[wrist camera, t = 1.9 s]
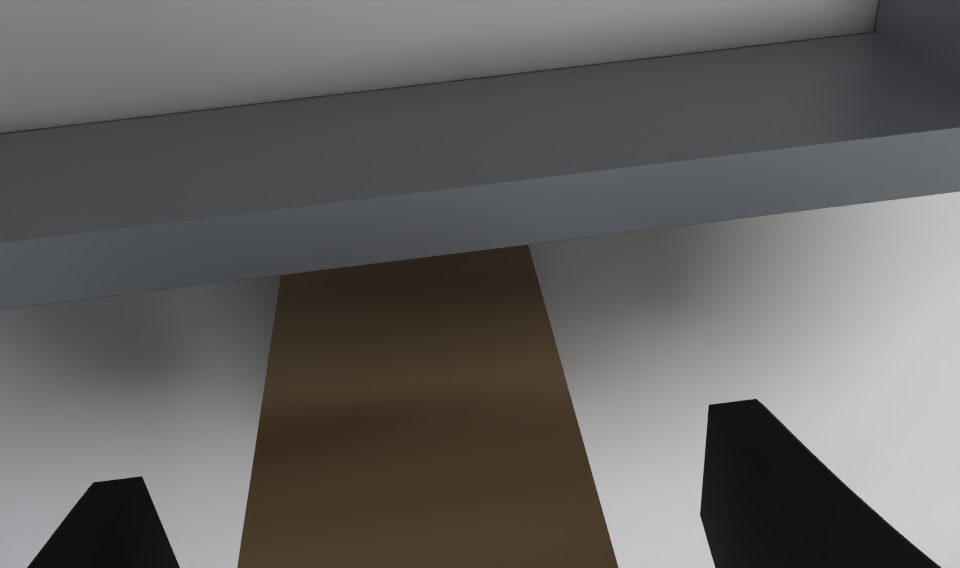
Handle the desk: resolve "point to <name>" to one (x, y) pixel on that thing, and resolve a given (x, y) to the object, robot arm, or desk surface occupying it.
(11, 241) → the walled box
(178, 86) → the desk surface
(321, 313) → the walnut peg
